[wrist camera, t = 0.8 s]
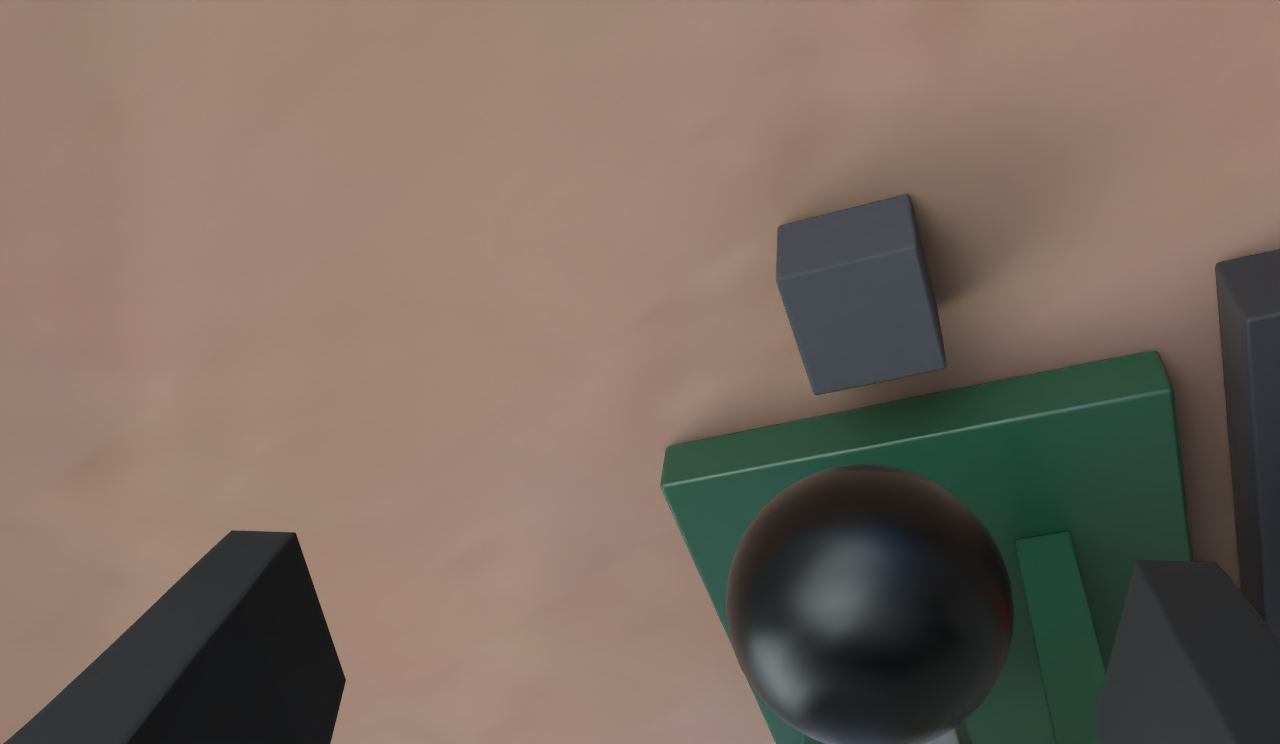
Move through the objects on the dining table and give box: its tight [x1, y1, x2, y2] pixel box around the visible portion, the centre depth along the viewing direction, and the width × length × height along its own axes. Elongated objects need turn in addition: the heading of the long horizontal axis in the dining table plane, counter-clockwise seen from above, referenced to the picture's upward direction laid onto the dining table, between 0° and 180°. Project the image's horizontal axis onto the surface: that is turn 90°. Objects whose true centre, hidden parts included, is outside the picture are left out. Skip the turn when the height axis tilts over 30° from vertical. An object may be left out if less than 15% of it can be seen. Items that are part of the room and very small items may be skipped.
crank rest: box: [776, 194, 947, 395], centre depth 19 cm, size 2×2×2 cm
